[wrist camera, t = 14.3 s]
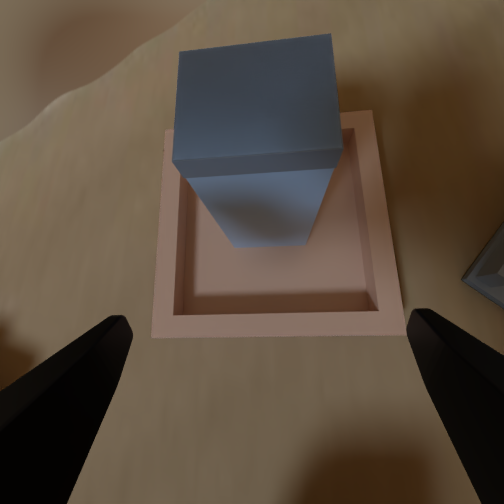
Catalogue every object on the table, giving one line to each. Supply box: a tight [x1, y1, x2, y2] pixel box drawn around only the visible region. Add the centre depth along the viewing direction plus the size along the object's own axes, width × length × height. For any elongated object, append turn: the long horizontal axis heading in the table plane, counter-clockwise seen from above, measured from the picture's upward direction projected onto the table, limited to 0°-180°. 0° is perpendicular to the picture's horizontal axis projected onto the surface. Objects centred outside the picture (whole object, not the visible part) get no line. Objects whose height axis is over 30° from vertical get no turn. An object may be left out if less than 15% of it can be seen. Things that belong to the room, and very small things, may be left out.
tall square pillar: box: [172, 34, 344, 248], centre depth 16 cm, size 5×6×13 cm
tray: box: [151, 110, 407, 338], centre depth 21 cm, size 18×18×2 cm
